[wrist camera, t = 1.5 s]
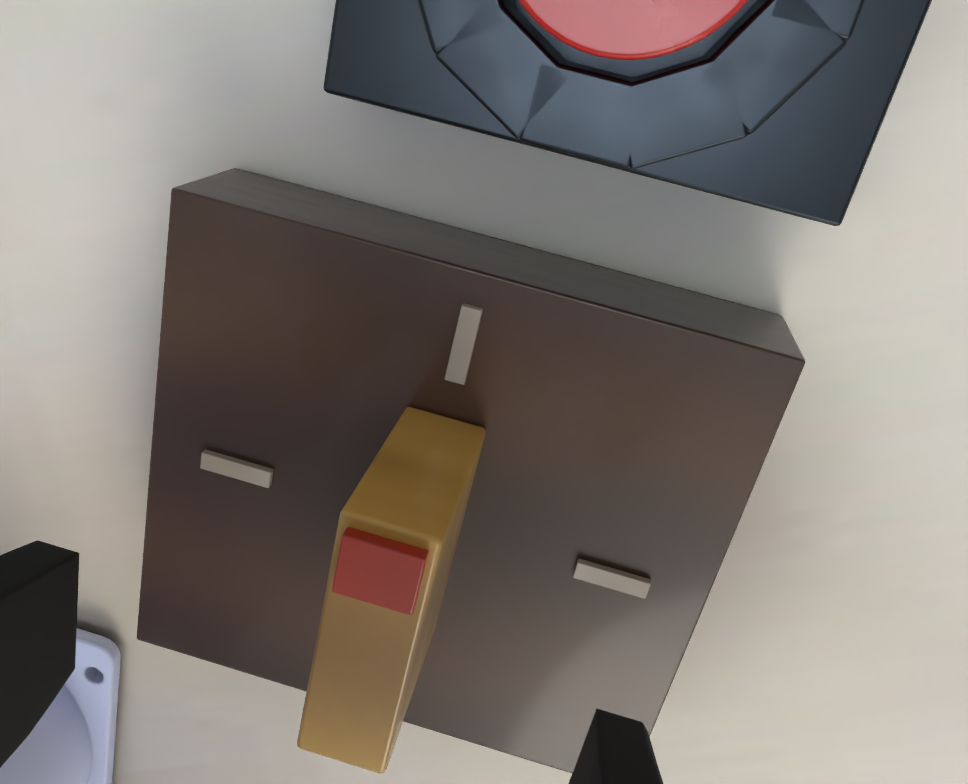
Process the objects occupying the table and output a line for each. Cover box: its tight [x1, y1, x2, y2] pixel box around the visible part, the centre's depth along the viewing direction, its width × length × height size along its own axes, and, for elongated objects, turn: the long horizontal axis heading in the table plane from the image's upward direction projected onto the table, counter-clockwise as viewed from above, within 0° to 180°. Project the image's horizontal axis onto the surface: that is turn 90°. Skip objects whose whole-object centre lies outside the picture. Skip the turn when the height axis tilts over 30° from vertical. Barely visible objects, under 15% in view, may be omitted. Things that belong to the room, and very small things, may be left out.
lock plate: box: [137, 168, 805, 773], centre depth 17 cm, size 10×11×3 cm
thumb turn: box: [297, 407, 486, 773], centre depth 14 cm, size 5×2×4 cm, turn 167°
